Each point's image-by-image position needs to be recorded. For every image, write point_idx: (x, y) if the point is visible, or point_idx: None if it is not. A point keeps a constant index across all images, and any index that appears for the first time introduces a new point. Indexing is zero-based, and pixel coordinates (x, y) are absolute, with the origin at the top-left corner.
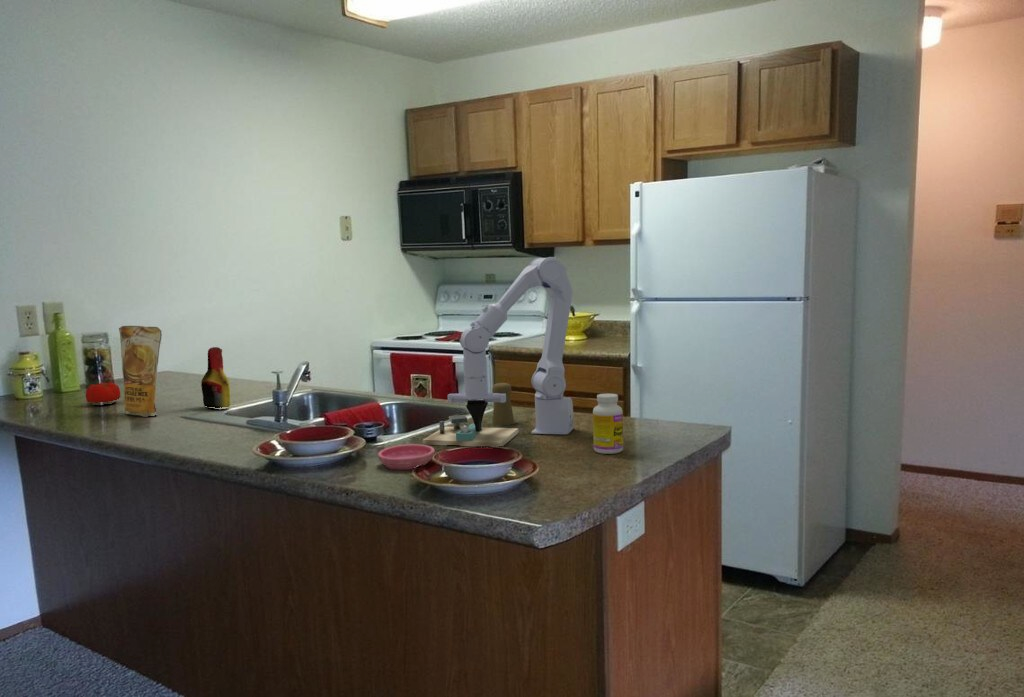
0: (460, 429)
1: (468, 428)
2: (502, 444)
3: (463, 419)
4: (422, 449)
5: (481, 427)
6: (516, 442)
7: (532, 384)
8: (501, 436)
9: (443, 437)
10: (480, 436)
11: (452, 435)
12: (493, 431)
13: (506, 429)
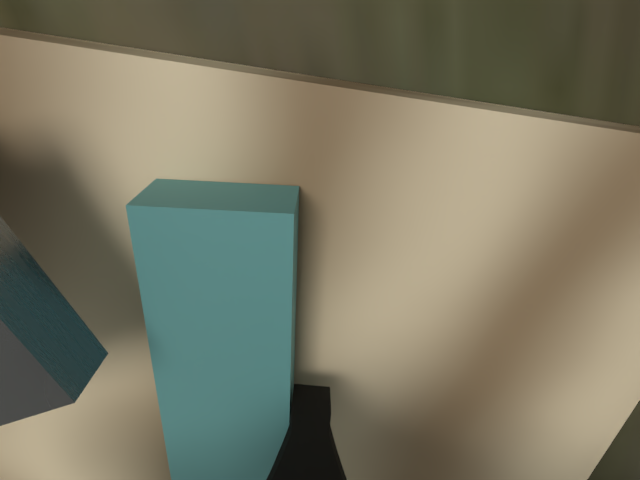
0: (22, 193)
1: (198, 444)
2: None
3: (35, 406)
4: None
5: (297, 221)
6: (630, 455)
7: None
8: (533, 468)
9: (35, 476)
10: (346, 462)
11: (77, 426)
12: (455, 302)
13: (621, 213)
